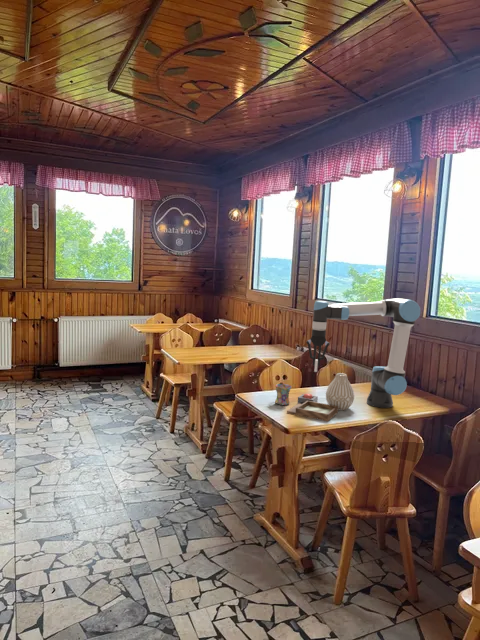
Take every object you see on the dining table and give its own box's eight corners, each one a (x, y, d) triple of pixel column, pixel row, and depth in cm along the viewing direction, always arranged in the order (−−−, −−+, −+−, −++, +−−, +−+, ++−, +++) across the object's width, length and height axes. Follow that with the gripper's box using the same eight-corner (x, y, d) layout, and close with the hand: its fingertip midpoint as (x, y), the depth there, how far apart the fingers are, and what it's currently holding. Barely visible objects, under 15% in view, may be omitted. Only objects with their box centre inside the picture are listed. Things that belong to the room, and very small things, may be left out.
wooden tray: (337, 412, 259) (338, 406, 259) (327, 421, 243) (328, 414, 243) (298, 405, 270) (299, 398, 269) (286, 412, 254) (287, 406, 253)
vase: (323, 403, 276) (325, 370, 274) (350, 405, 276) (352, 371, 274) (327, 411, 261) (329, 376, 258) (355, 413, 260) (358, 378, 258)
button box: (317, 403, 276) (317, 396, 275) (312, 406, 268) (312, 400, 267) (302, 400, 280) (303, 393, 280) (297, 403, 272) (297, 397, 272)
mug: (293, 405, 269) (294, 387, 268) (279, 406, 265) (281, 388, 263) (281, 399, 279) (283, 382, 278) (268, 400, 275) (269, 383, 274)
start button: (312, 401, 275) (313, 394, 274) (310, 403, 271) (310, 396, 270) (305, 399, 277) (305, 393, 277) (302, 401, 273) (302, 394, 272)
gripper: (331, 329, 259) (327, 371, 262) (307, 327, 262) (304, 368, 264) (331, 331, 252) (327, 374, 254) (306, 329, 254) (303, 371, 257)
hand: (315, 371), depth 259 cm, fingers closed
